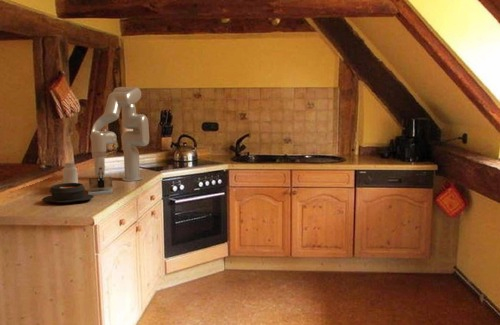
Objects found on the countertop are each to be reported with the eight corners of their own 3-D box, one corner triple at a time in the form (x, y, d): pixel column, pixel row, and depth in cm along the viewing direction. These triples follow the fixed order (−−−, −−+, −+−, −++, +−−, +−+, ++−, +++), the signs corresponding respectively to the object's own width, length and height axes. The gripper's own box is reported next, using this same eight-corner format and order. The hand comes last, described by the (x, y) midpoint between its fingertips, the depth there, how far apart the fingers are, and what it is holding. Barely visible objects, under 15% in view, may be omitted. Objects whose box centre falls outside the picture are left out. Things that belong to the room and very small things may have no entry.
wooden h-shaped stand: (89, 188, 240) (89, 179, 239) (89, 186, 245) (88, 178, 245) (112, 187, 244) (112, 178, 243) (111, 185, 250) (111, 176, 249)
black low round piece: (98, 197, 233) (97, 181, 232) (87, 205, 215) (86, 188, 214) (50, 197, 232) (49, 182, 231) (35, 206, 213) (34, 189, 212)
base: (87, 190, 249) (87, 180, 248) (111, 189, 253) (111, 178, 252) (88, 195, 237) (87, 184, 236) (113, 193, 241) (112, 182, 240)
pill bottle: (74, 186, 262) (73, 161, 260) (80, 188, 257) (79, 162, 255) (61, 188, 257) (59, 162, 255) (67, 190, 251) (65, 164, 249)
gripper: (91, 153, 249) (93, 184, 251) (92, 156, 233) (94, 189, 235) (105, 152, 251) (106, 183, 254) (107, 156, 236) (109, 188, 238)
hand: (100, 185), depth 245 cm, fingers closed on wooden h-shaped stand, 6 cm apart
